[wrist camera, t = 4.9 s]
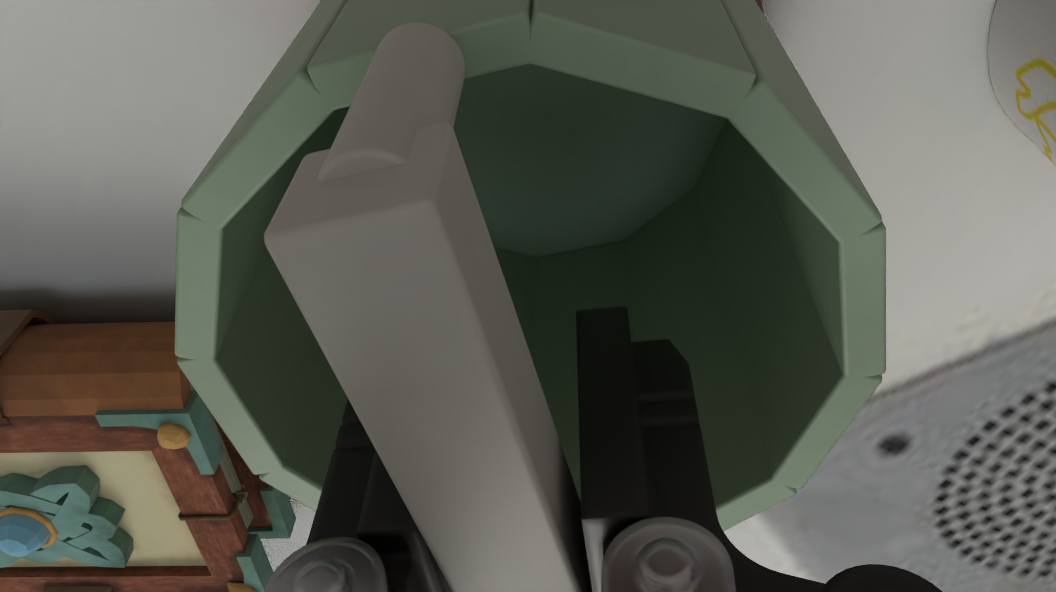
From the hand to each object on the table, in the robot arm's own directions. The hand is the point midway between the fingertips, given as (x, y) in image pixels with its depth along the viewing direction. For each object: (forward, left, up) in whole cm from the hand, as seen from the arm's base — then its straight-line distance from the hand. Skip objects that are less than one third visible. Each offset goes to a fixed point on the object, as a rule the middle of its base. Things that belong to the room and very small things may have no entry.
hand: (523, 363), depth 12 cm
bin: (0, 0, -10) cm, 10 cm away
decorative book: (-14, -17, -11) cm, 25 cm away
